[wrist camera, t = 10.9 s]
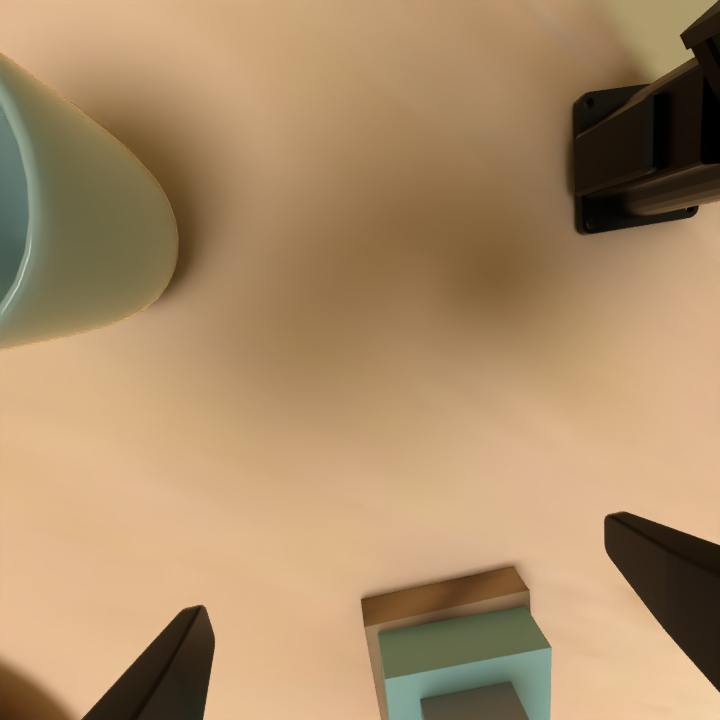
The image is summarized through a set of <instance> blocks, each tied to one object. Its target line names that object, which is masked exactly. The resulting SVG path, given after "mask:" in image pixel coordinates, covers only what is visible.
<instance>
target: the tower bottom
mask: <svg viewBox="0 0 720 720" xmlns="http://www.w3.org/2000/svg"><path fill="white" fill-rule="evenodd" d="M361 604H362V612H363V620H364V628H365V634H366V639H367V645H368V650H369V655H370V661H371V666H372V672H373V677H374V683H375V688H376V694H377V699H378V705H379V710H380V716H381V720H387V713H386V704H385V695H384V685H383V676H382V667H381V658H380V649H379V640H378V633H380V632H385V631H391V630H396V629H402V628H407V627H413V626H418V625H423V624H429V623H434V622H440V621H445V620H451V619H456V618H462V617H467V616H473V615H478V614H484V613H489V612H495V611H500V610H506V609H511V608H517V607H522V606H526V608H527V609H528V611H529V613H530V614H531V611H530V593H529V589H528V587H527V586H526V585H525V583H524V582H523V580H522V579H521V577H520V576H519V574H518V573H517V571H516V570H515V568H514V567H509V568H505V569H500V570H495V571H491V572H486V573H482V574H477V575H473V576H468V577H463V578H459V579H454V580H450V581H445V582H440V583H436V584H431V585H427V586H422V587H417V588H413V589H408V590H404V591H399V592H395V593H390V594H385V595H381V596H376V597H372V598H367V599H362V600H361Z"/></svg>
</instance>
